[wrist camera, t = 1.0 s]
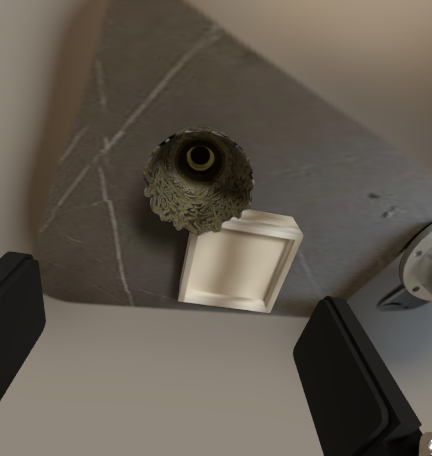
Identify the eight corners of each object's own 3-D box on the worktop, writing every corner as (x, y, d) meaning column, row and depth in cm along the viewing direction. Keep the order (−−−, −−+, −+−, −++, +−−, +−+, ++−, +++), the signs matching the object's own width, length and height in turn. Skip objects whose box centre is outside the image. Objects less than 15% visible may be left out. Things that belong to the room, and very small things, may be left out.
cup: (188, 206, 28) (183, 252, 21) (142, 141, 24) (118, 171, 18) (254, 168, 26) (273, 204, 19) (214, 93, 23) (220, 105, 16)
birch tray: (292, 217, 29) (303, 235, 26) (263, 289, 34) (269, 312, 31) (196, 199, 27) (195, 217, 24) (180, 278, 32) (178, 301, 29)
